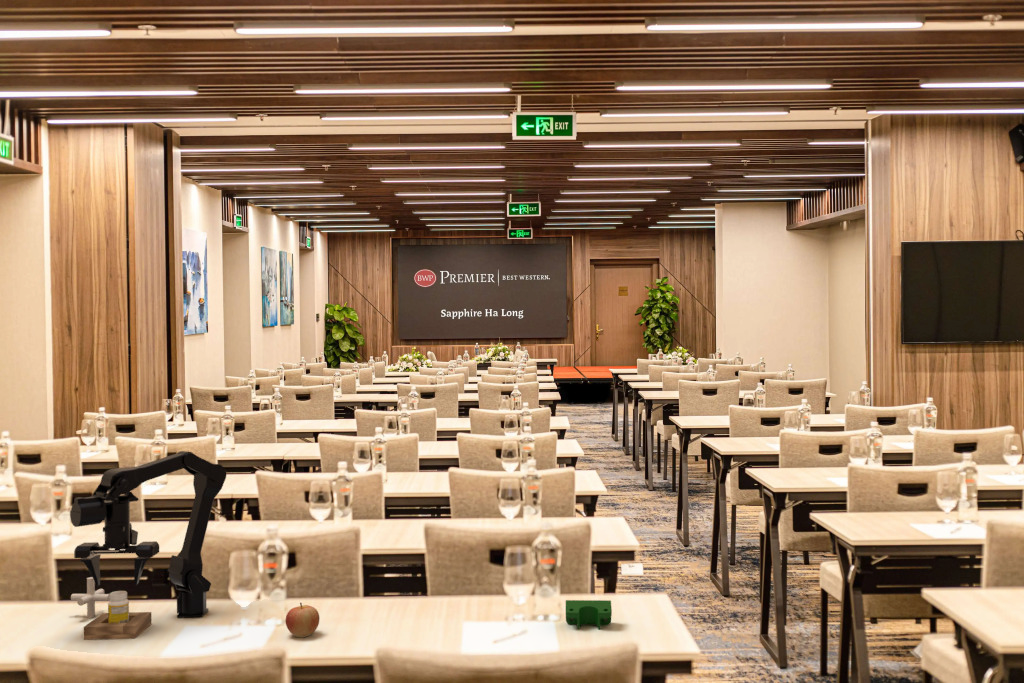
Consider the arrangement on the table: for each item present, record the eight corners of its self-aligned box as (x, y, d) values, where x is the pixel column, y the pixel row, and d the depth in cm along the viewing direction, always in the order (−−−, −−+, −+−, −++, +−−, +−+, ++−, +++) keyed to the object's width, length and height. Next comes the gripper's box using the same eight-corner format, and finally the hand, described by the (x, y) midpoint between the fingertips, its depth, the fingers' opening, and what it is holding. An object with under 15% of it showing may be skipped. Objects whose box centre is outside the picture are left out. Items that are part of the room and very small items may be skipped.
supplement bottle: (112, 624, 237) (111, 590, 237) (131, 623, 237) (131, 589, 237) (105, 630, 232) (105, 595, 232) (125, 629, 233) (125, 594, 233)
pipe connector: (119, 611, 253) (119, 573, 253) (99, 622, 243) (99, 583, 243) (83, 611, 254) (82, 573, 254) (61, 621, 244) (61, 582, 244)
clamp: (574, 646, 233) (558, 615, 232) (574, 633, 239) (559, 602, 237) (619, 629, 232) (604, 597, 230) (618, 616, 237) (603, 585, 236)
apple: (289, 642, 225) (288, 608, 225) (282, 633, 232) (282, 600, 232) (323, 638, 228) (322, 604, 228) (316, 629, 235) (315, 596, 235)
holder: (151, 623, 241) (151, 611, 241) (134, 638, 229) (134, 625, 229) (102, 625, 241) (102, 613, 241) (83, 639, 229) (83, 626, 229)
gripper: (166, 515, 243) (166, 576, 243) (91, 516, 243) (91, 577, 242) (151, 522, 232) (151, 587, 232) (73, 524, 231) (73, 588, 231)
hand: (117, 585), depth 235 cm, fingers open, 9 cm apart
